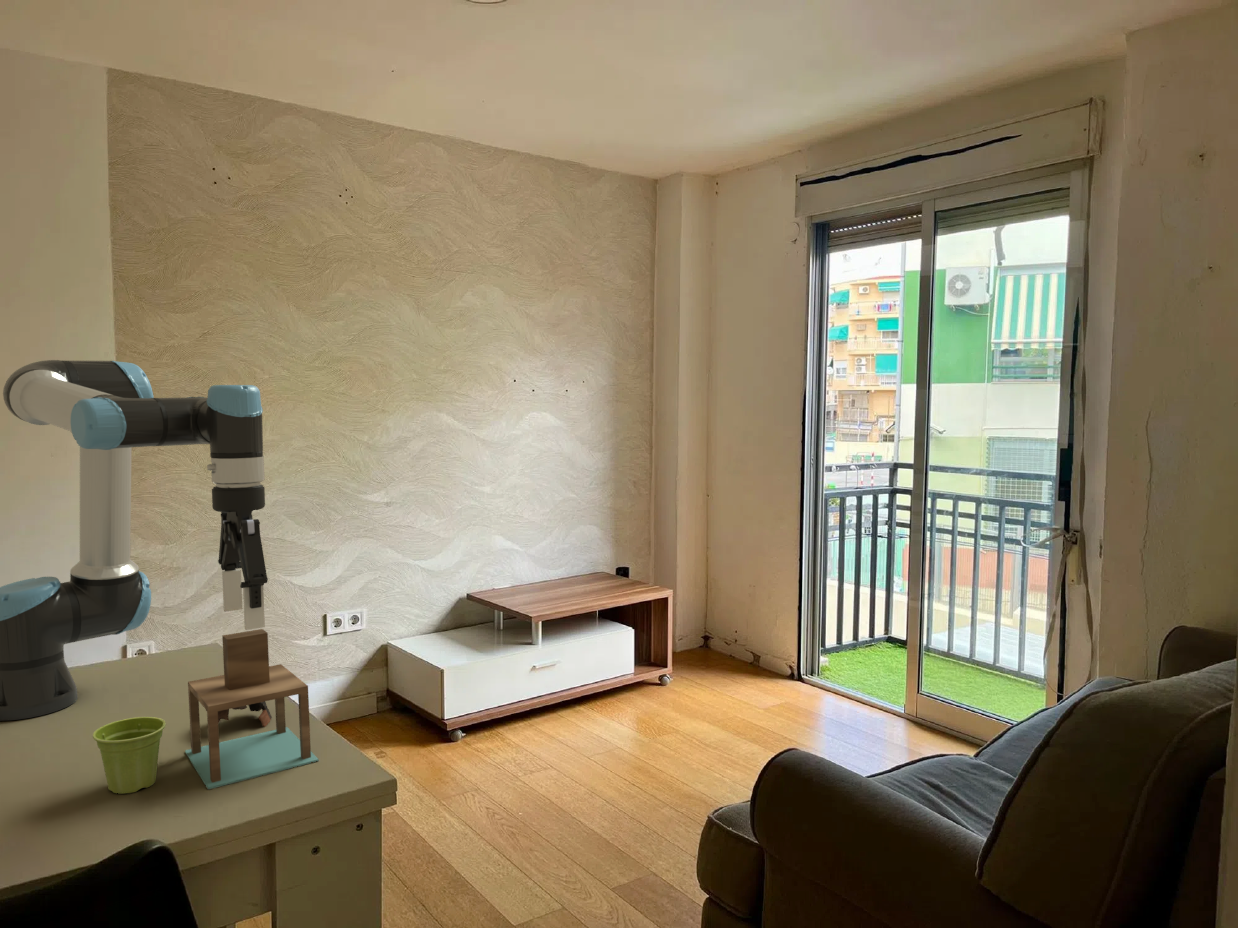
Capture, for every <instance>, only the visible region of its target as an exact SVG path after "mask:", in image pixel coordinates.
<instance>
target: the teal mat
mask: <svg viewBox="0 0 1238 928" xmlns="http://www.w3.org/2000/svg"><path fill="white" fill-rule="evenodd" d="M219 749H220V770H221V781H217V782H213V783H212V782H211V780H210V762H209V744H207V745H203V746H202V745H201V752H200V753H196V754H193V753H192V752H191V748H190V749H185V754H186V756H187V758H188V759H189V761H190V763H191V765H192V766H193V768H194V769H195V771H196V772H197V774H198V776H199V777H200V778H201V779H200V780H202V782H203V784H204V785H206V786H205V788H207V790H211V789H216V788H218V787H223V786H226V785H231V784H235V783H239V782H242V781H246V780H251V779H255V778H258V777H263V776H266V775H270V774H273V773H278V772H282V771H285V770H290V769H293V767H294V768H297V766H298V767H300V766H304V765H309V764H312V763H311V762H313V763H316V761H317V762H319V758H318V757H317V756H316V755H315V754H314V753H313V752H312V751H311V757H310V758H306V759H302V758H301V749H300V738H299V737H297V735H296V734H295V733H294V732H293V731H292V730H291V729H290V728H289V727H288V726H286V732H285V733H280V734H278V733H277V732H276V729H272V730H269V731H264V732H260V733H259V732H258V733H254V734H250V735H247V736H242V737H237V738H233V739H229V740H225V741H221V742H220V741H219ZM262 775H263V776H262Z"/></svg>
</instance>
